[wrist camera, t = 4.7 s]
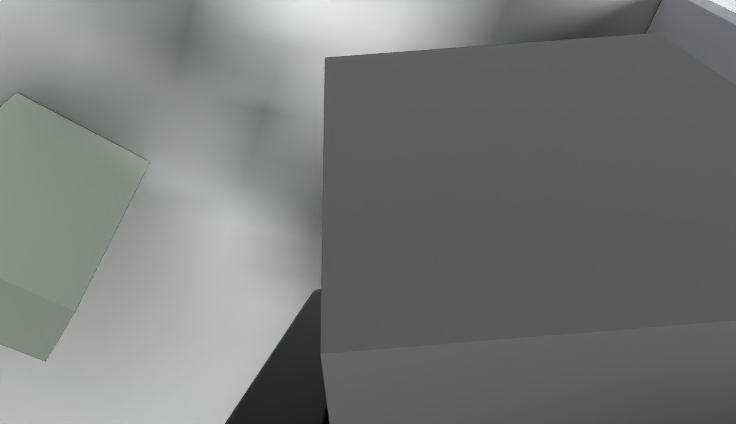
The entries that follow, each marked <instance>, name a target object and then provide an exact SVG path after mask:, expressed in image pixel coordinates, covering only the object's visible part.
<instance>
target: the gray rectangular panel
mask: <svg viewBox="0 0 736 424" xmlns="http://www.w3.org/2000/svg"><path fill="white" fill-rule="evenodd" d="M646 33H659V34H661V35H662V36H663V37H665V38H666V39H668V40H669V41H671V42H672V43H674V44H675V45H677V46H678V47H680V48H681V49H683V50H684V51H686V52H687V53H689V54H690V55H692V56H693V57H695V58H696V59H698V60H699V61H700V62H702V63H703V64H705V65H706V66H708V67H709V68H711V69H712V70H714V71H715V72H717V73H718V74H720V75H721V76H723V77H724V78H726V79H727V80H729V81H730V82H732V83H733V84H734V85H736V13H734V12H732V11H730V10H728V9H726V8H724V7H722V6H720V5H718V4H716V3H714V2H712V1H709V0H662V1H661V3H660V5H659V7H658V9H657V11H656V13H655V16H654V18H653V20H652V22H651V24H650V26H649V28H648V30H647V32H646Z"/></svg>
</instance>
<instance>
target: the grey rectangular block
mask: <svg viewBox="0 0 736 424" xmlns="http://www.w3.org/2000/svg"><path fill="white" fill-rule="evenodd" d="M320 355H321V362H322V370H323V377H324V385H325V392H326V400H327V407H328V415H329V422H330V424H736V85H734V84H733V83H732V82H730V81H729V80H727V79H726V78H724V77H723V76H721V75H720V74H718V73H717V72H715V71H714V70H712V69H711V68H709V67H708V66H706V65H705V64H703V63H702V62H700V61H699V60H698V59H696V58H695V57H693V56H692V55H690V54H689V53H687V52H686V51H684V50H683V49H681V48H680V47H678V46H677V45H675V44H674V43H672V42H671V41H669V40H668V39H666V38H665V37H663V36H662V35H661V34H659V33H646V34H633V35H620V36H606V37H593V38H580V39H566V40H553V41H540V42H526V43H513V44H500V45H487V46H473V47H460V48H447V49H433V50H420V51H407V52H394V53H380V54H367V55H354V56H340V57H327V58H325V85H324V151H323V217H322V283H321V349H320Z"/></svg>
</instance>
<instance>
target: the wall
mask: <svg viewBox="0 0 736 424" xmlns="http://www.w3.org/2000/svg"><path fill="white" fill-rule="evenodd" d="M149 163H150V162H149V161H147V160H145V159H143V158H141V157H139V156H137V155H135V154H133V153H132V152H130V151H128V150H126V149H124V148H122V147H120V146H118V145H116V144H114V143H112V142H110V141H108V140H107V139H105V138H103V137H101V136H99V135H97V134H95V133H93V132H91V131H89V130H87V129H85V128H84V127H82V126H80V125H78V124H76V123H74V122H72V121H70V120H68V119H66V118H64V117H62V116H60V115H59V114H57V113H55V112H53V111H51V110H49V109H47V108H45V107H43V106H41V105H39V104H37V103H35V102H34V101H32V100H30V99H28V98H26V97H24V96H22V95H20V94H18V93H15V94H14V95H13V96H12V97H11V98H10V99H9V100H8V101H6V102H5V103H4V104H3V105H2V106H1V107H0V344H1V345H4V346H7V347H9V348H12V349H14V350H17V351H19V352H22V353H25V354H27V355H30V356H32V357H35V358H37V359H40V360H42V361H45V362H46V360H47V359H48V357H49V355H50V354H51V352H52V350H53V348H54V347H55V345H56V343H57V342H58V340H59V338H60V337H61V335H62V333H63V331H64V330H65V328H66V326H67V325H68V323H69V321H70V320H71V318H72V316H73V314H74V313H75V311H76V309H77V307H78V305H79V303H80V301H81V299H82V297H83V295H84V293H85V291H86V289H87V287H88V285H89V283H90V281H91V279H92V277H93V275H94V273H95V271H96V269H97V267H98V265H99V263H100V261H101V259H102V257H103V255H104V253H105V251H106V249H107V247H108V245H109V243H110V241H111V239H112V237H113V235H114V233H115V231H116V229H117V227H118V225H119V223H120V221H121V219H122V217H123V215H124V213H125V211H126V209H127V207H128V205H129V203H130V201H131V199H132V197H133V195H134V193H135V191H136V189H137V187H138V185H139V183H140V181H141V179H142V177H143V175H144V173H145V171H146V169H147V167H148V165H149Z"/></svg>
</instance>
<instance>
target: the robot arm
mask: <svg viewBox="0 0 736 424" xmlns="http://www.w3.org/2000/svg"><path fill="white" fill-rule="evenodd" d="M320 349H321V289H318V290H315V291H314V292H312V294H311V295H310V297H309V298H308V300H307V301H306V303H305V304H304V306H303V307H302V309H301V310H300V312H299V313H298V315H297V316H296V318H295V319H294V321H293V322H292V324H291V325H290V327H289V328H288V330H287V331H286V333H285V334H284V336H283V337H282V339H281V340H280V342H279V343H278V345H277V346H276V348H275V349H274V351H273V352H272V354H271V355H270V357H269V358H268V360H267V361H266V363H265V364H264V366H263V367H262V369H261V370H260V372H259V373H258V375H257V376H256V378H255V379H254V381H253V382H252V384H251V385H250V387H249V388H248V390H247V391H246V393H245V394H244V396H243V397H242V399H241V400H240V402H239V403H238V405H237V406H236V408H235V409H234V411H233V412H232V414H231V415H230V417H229V418H228V420H227V421H226V423H225V424H330V422H329V415H328V407H327V400H326V392H325V385H324V377H323V370H322V362H321V355H320Z"/></svg>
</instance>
